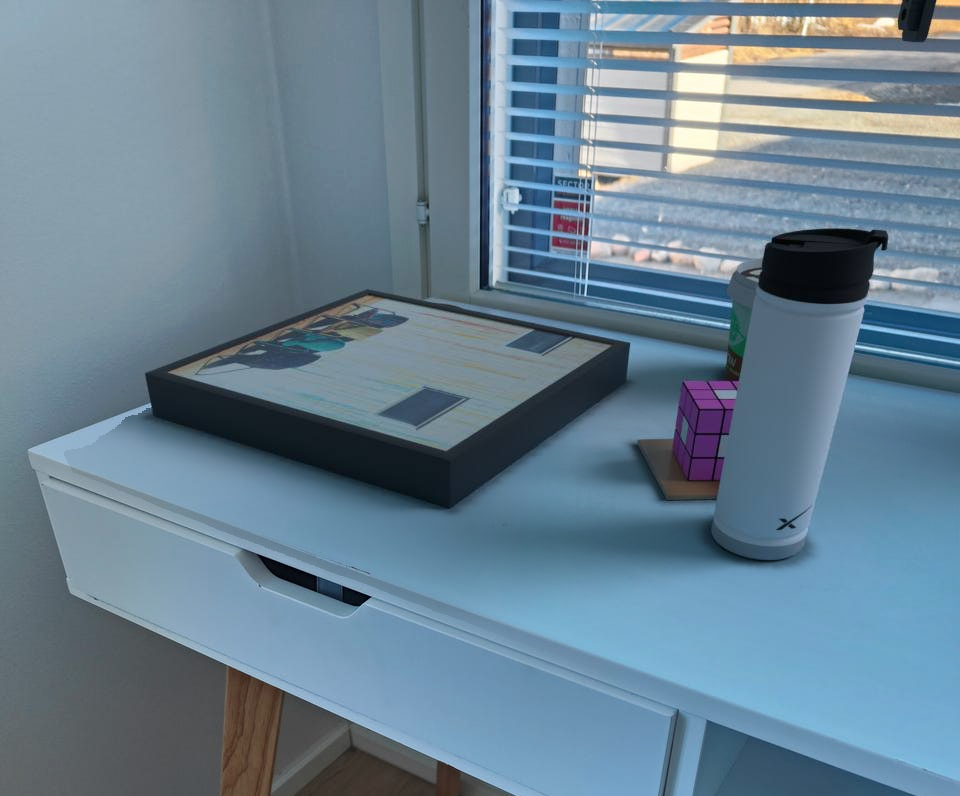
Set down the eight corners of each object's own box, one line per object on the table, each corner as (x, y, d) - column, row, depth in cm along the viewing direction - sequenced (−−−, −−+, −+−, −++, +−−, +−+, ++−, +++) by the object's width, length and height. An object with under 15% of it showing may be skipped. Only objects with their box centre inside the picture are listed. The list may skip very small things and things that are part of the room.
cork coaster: (755, 441, 77) (755, 437, 77) (798, 497, 69) (799, 492, 69) (636, 443, 77) (637, 439, 76) (666, 500, 68) (667, 495, 68)
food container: (695, 361, 93) (712, 256, 87) (755, 360, 93) (775, 255, 88) (736, 409, 83) (758, 294, 77) (803, 407, 83) (829, 293, 78)
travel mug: (805, 570, 61) (890, 246, 49) (703, 551, 63) (762, 234, 51) (812, 527, 66) (891, 222, 54) (717, 510, 67) (774, 212, 56)
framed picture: (367, 288, 98) (630, 342, 86) (369, 324, 101) (626, 382, 88) (144, 373, 77) (449, 460, 65) (153, 415, 80) (450, 508, 67)
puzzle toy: (671, 449, 75) (681, 380, 71) (741, 449, 75) (755, 380, 72) (687, 481, 70) (698, 409, 67) (761, 481, 70) (777, 409, 67)
